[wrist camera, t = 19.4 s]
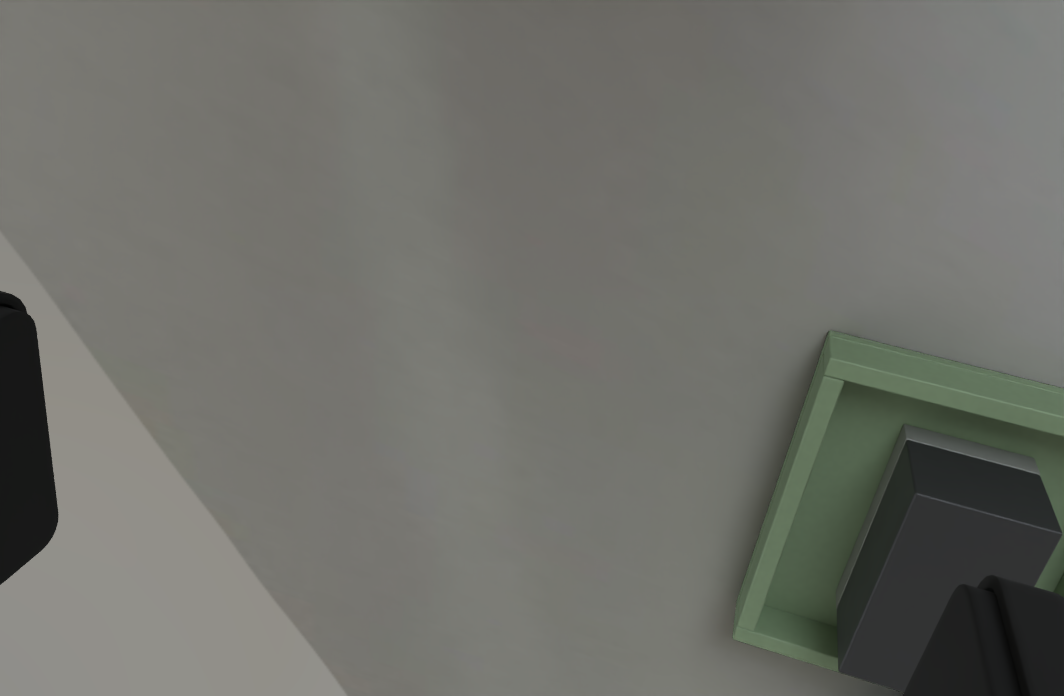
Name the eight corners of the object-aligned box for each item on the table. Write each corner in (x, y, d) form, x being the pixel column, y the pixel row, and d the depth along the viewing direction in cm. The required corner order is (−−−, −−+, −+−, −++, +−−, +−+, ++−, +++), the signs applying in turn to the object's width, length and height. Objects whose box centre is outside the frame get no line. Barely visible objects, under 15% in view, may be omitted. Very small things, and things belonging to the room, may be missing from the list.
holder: (829, 329, 37) (829, 357, 34) (1168, 413, 34) (1193, 449, 32) (736, 601, 43) (731, 639, 41) (1014, 686, 41) (1025, 731, 39)
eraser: (903, 423, 37) (915, 493, 32) (1034, 457, 36) (1064, 533, 32) (835, 591, 41) (837, 673, 37) (950, 625, 40) (967, 713, 36)
